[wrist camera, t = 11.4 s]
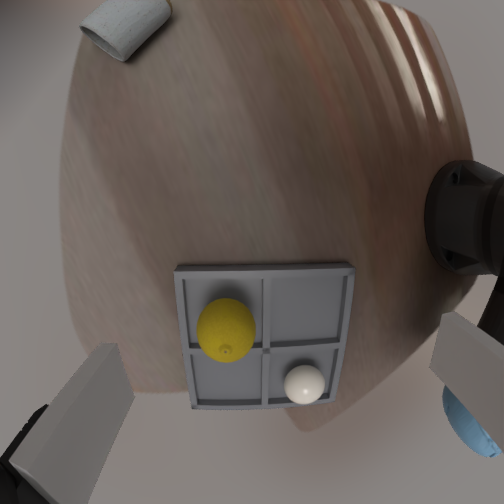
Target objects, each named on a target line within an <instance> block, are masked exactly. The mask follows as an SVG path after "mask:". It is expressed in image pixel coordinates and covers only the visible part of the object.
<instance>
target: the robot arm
mask: <svg viewBox="0 0 504 504" xmlns="http://www.w3.org/2000/svg"><path fill="white" fill-rule="evenodd" d="M425 230H426V237H427V241H428V245H429V248H430V250H431V252H432V254H433V256H434V258H435V259H436V261H437V262H438V263H439V264H440V265H441V266H442V267H444V268H445V269H447V270H450V271H452V272H454V273H456V274H460V275H483V274H485V275H486V274H493V275H495V276H498V278H497V281H496V284H495V287H494V290H493V291H492V294H491V296H490V298H489V301H488V303H487V305H486V308H485V310H484V312H483V314H482V317H481V319H480V321H479V323H478V325H477V326H475V325H474V324H472V323H471V322H469V321H468V320H467V319H465V318H463V317H462V316H460V315H459V314H458V313H456V312H455V311H452V312H448V313H444V314H442V316H441V321H440V326H439V331H438V335H437V340H436V344H435V348H434V352H433V355H432V359H431V363H430V366H429V368H430V369H431V370H432V371H433V372H434V373H435V374H436V375H437V376H438V377H439V378H440V380H441V381H442V382H443V383H444V384H445V387H444V390H443V396H442V398H443V407H444V411H445V413H446V415H447V417H448V420H449V422H450V424H451V426H452V428H453V429H454V431H455V432H456V434H457V435H458V436H459V437H460V439H461V440H462V441H463V442H464V443H465V444H466V445H467V446H468V447H469V448H470V449H472V450H473V451H474V452H476V453H478V454H480V455H482V456H484V457H488V456H489V457H496V456H498V455H499V454H500V453H502V452H503V453H504V175H503V174H502V173H500V172H498V171H496V170H493V169H491V168H489V167H487V166H485V165H483V164H481V163H479V162H476V161H472V160H459V161H453V162H450V163H449V164H447V165H445V166H444V167H443V168H442V169H441V170H440V171H439V172H438V174H437V175H436V177H435V179H434V180H433V183H432V185H431V187H430V190H429V193H428V197H427V202H426V208H425ZM134 398H135V396H134V393H133V391H132V388H131V385H130V382H129V379H128V377H127V374H126V371H125V368H124V365H123V362H122V358H121V355H120V352H119V349H118V345H117V343H102V342H101V343H100V344H99V345H98V346H97V347H96V349H95V350H94V351H93V352H92V353H91V354H90V356H89V357H88V358H87V359H86V360H85V362H84V363H83V364H82V365H81V366H80V368H79V369H78V370H77V371H76V372H75V374H74V375H73V376H72V377H71V378H70V380H69V381H68V382H67V383H66V385H65V386H64V387H63V389H62V390H61V391H60V392H59V393H58V395H57V396H56V397H55V398H54V400H53V401H52V402H51V404H50V405H47V404H45V405H44V406H43V407H41V408H40V409H38V410H37V411H35V412H34V414H33V415H32V416H31V417H30V419H29V420H28V423H26V424H25V425H24V427H23V428H22V431H20V432H19V433H18V434H17V436H16V437H15V438H14V440H13V441H12V443H11V444H10V445H9V447H8V448H7V449H6V451H5V452H4V453H3V455H2V456H1V457H0V504H88V501H89V499H90V496H91V494H92V491H93V489H94V487H95V484H96V482H97V480H98V477H99V475H100V473H101V470H102V468H103V466H104V463H105V461H106V459H107V456H108V454H109V452H110V450H111V448H112V445H113V443H114V441H115V438H116V437H117V434H118V432H119V430H120V428H121V426H122V424H123V421H124V419H125V417H126V415H127V413H128V411H129V409H130V407H131V404H132V402H133V400H134Z"/></svg>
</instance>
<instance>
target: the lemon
mask: <svg viewBox="0 0 504 504" xmlns="http://www.w3.org/2000/svg"><path fill="white" fill-rule="evenodd" d="M196 334H197V339H198V342H199V345H200V347H201V349H202V350H203V352H204V353H205V354H206V355H207V356H208V357H210V358H212V359H213V360H215V361H218V362H224V363H229V362H234V361H237V360H239V359H241V358H243V357H244V356H245V355H246V354H247V353H248V352H249V351H250V349H251V348H252V346H253V343H254V340H255V336H256V324H255V321H254V318H253V315H252V313H251V312H250V310H249V309H248V308H247V307H246V306H245V305H244V304H243V303H241V302H239V301H237V300H234V299H231V298H222V299H217V300H215V301H213V302H211V303H209V304H208V305H207V306H206V307H205V308H204V309H203V311H202V312H201V313H200V315H199V318H198V321H197V327H196Z"/></svg>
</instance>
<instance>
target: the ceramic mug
mask: <svg viewBox="0 0 504 504" xmlns="http://www.w3.org/2000/svg"><path fill="white" fill-rule="evenodd" d="M171 14H172V4H171V2H170V0H107V1H105V2H104V3H103V4H102V5H100V6H99V7H98V8H97V9H96V10H94V11H93V12H92V13H91V14H90V15H89V16H88V17H86V18H85V19H84V20H83V21H82V22H81V24H80V25H79V27H80V29H81V31H82V32H83V33H84V34H85V35H86V36H87V37H88V38H89V39H90V40H91V41H92V42H94V43H95V44H96V45H97V46H99V47H100V48H101V49H102V50H104V51H105V52H107V53H108V54H109V55H111V56H112V57H114V58H116V59H118V60H120V61H123V62H124V61H126V60H127V59H128V58H129V57H130V56H131V55H132V54H133V53H134V51H135V50H137V49H138V48H139V47H140V45H141V44H142V43H143V42H144V41H145V40H146V39H147V38H148V37H149V36H151V35H152V34H153V33H154V32H155V31H156V30H157V29H158V28H159V27H161V26H162V25H163V24H164V23H165V22H166V20H167V19H168V18H169V17H170V15H171Z"/></svg>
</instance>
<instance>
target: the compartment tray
mask: <svg viewBox="0 0 504 504" xmlns="http://www.w3.org/2000/svg"><path fill="white" fill-rule="evenodd" d="M355 269H356V268H355V267H354V266H352V265H351V264H349V263H310V264H262V265H191V266H177V268H176V269H175V270H174V282H175V293H176V303H177V312H178V321H179V329H180V337H181V345H182V352H183V359H184V366H185V372H186V378H187V384H188V390H189V395H190V401H191V407H192V409H204V410H250V409H271V408H286V407H297V406H306V405H315V404H323V403H330V402H335V397H336V393H337V388H338V383H339V378H340V373H341V368H342V363H343V357H344V352H345V346H346V340H347V334H348V327H349V320H350V313H351V305H352V297H353V288H354V279H355ZM222 298H231V299H234V300H237V301H239V302H241V303H243V304H244V305H245V306H246V307H247V308H248V309H249V310H250V312H251V313H252V315H253V318H254V321H255V324H256V336H255V340H254V343H253V346H252V348H251V349H250V351H249V352H248V353H247V354H246V355H245V356H244V357H243V358H241V359H239V360H237V361H234V362H229V363H224V362H218V361H215V360H213V359H212V358H210V357H208V356H207V355H206V354H205V353H204V352H203V350H202V349H201V347H200V345H199V342H198V339H197V334H196V327H197V321H198V318H199V315H200V313H201V312H202V311H203V309H204V308H205V307H206V306H207V305H208V304H209V303H211V302H213V301H215V300H217V299H222ZM300 365H310V366H313V367H315V368H317V369H318V370H319V371H320V372H321V373H322V374H323V376H324V379H325V389H324V392H323V393H322V395H321V396H320V398H319V399H317V400H316V401H315V402H313V403H310V404H297V403H295V402H293V401H291V400H290V399H289V398H288V397H287V395H286V394H285V391H284V380H285V377H286V376H287V374H288V373H289V372H290V371H291V370H292V369H293V368H295V367H297V366H300Z"/></svg>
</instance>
